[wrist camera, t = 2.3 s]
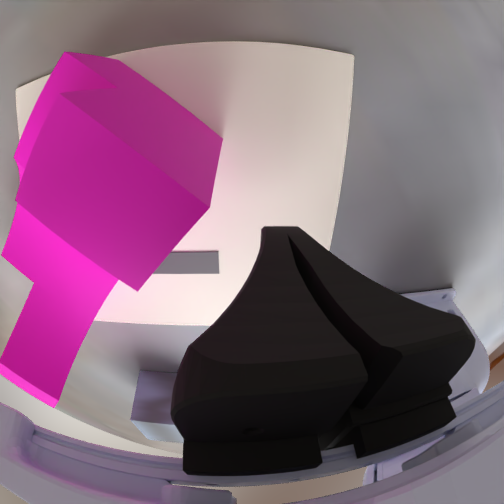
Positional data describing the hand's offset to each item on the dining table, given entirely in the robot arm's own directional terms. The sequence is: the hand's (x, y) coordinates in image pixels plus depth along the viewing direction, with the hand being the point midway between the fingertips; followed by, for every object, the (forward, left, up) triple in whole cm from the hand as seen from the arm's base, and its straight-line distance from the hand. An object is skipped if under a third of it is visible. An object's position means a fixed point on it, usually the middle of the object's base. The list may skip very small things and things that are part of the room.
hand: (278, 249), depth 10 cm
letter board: (+5, 0, -4) cm, 6 cm away
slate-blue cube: (+7, +17, -4) cm, 19 cm away
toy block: (+9, 0, -4) cm, 10 cm away
